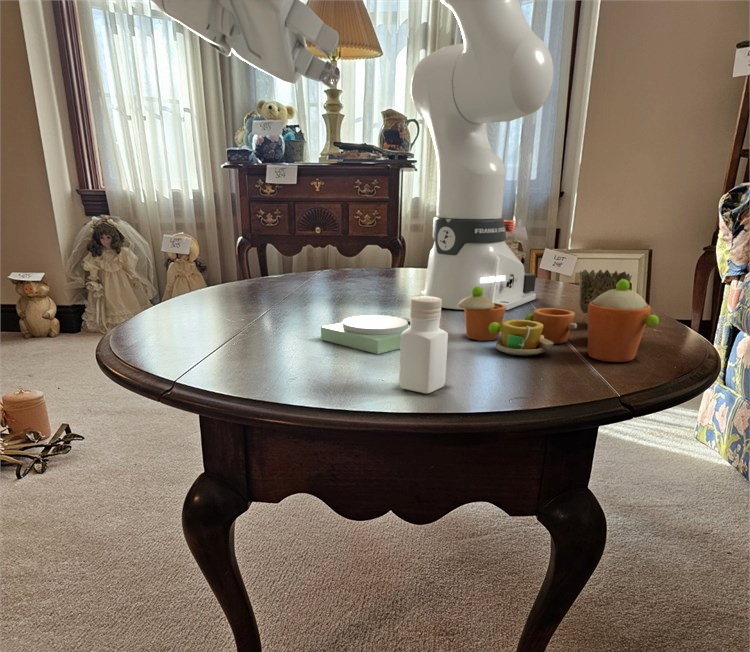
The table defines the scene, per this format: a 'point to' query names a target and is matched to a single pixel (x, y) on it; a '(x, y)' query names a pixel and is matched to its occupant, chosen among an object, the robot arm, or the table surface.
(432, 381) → the white square bottle
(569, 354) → the table surface
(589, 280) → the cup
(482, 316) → the toy tea set
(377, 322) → the scale
